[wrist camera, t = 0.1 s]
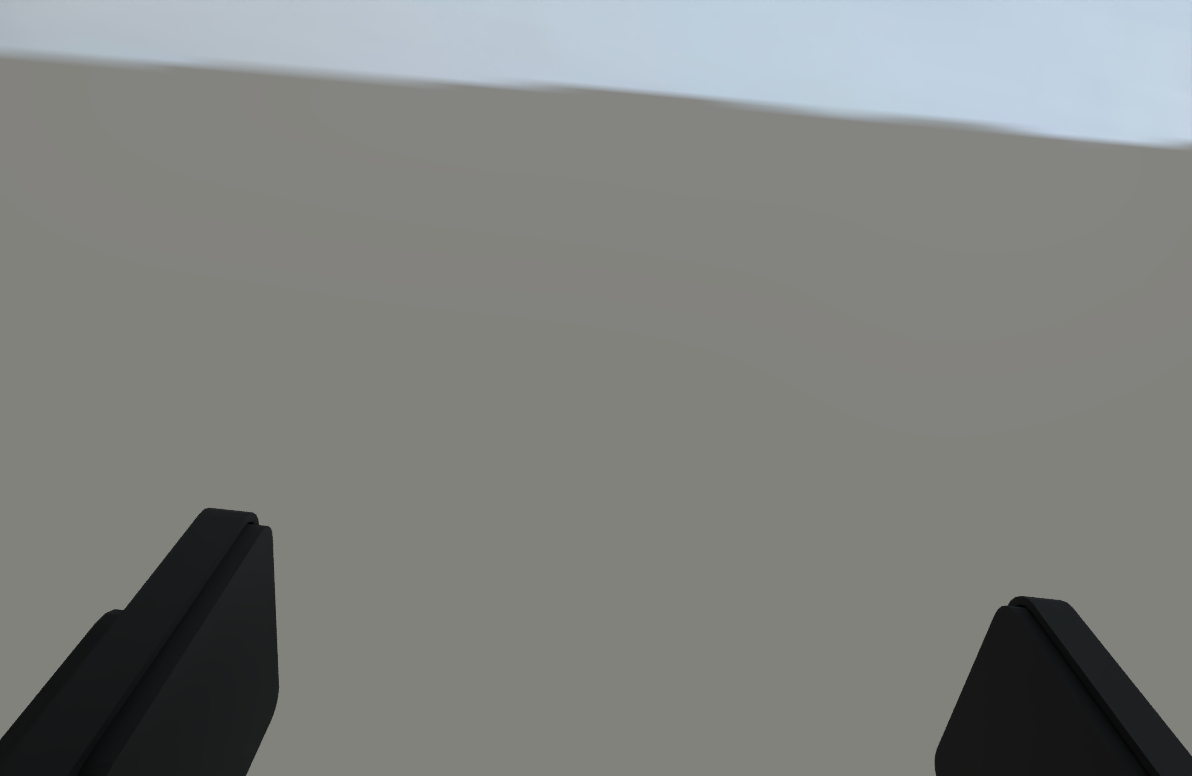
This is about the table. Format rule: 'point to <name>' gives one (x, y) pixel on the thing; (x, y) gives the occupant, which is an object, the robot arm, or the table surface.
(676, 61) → the table surface
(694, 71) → the table surface
